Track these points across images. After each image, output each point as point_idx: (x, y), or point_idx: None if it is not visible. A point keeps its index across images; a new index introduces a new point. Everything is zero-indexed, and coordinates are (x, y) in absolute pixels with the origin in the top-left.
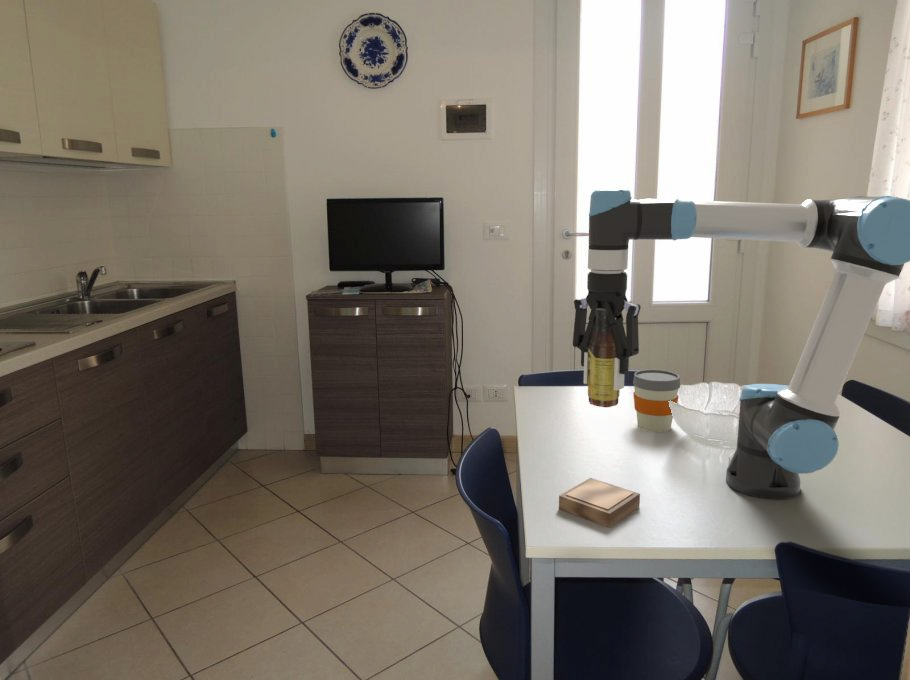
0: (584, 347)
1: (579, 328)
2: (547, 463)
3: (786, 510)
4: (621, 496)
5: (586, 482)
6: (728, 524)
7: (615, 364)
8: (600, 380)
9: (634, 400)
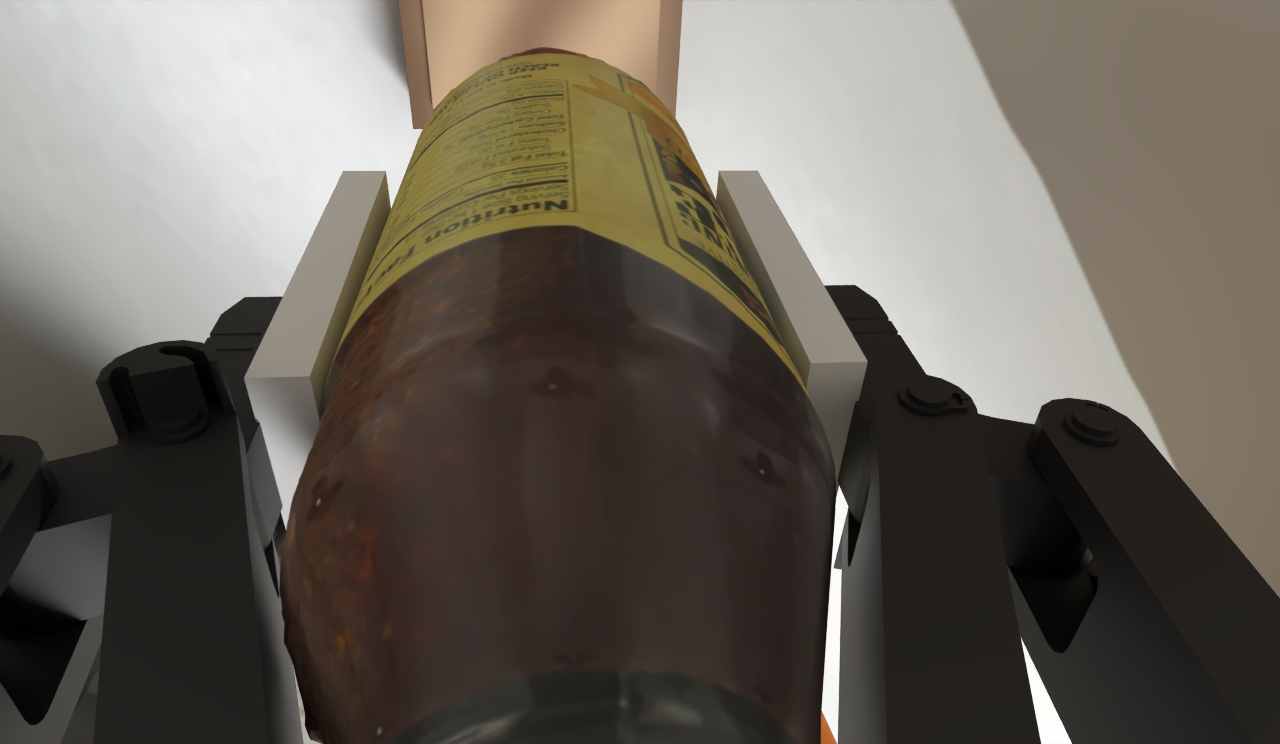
0: (901, 418)
1: (1202, 687)
2: (942, 218)
3: (47, 428)
4: (447, 33)
5: (663, 71)
6: (86, 205)
7: (313, 321)
8: (492, 124)
9: (826, 732)
